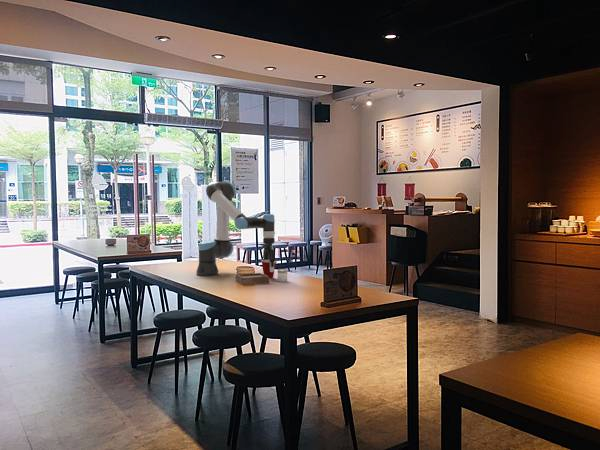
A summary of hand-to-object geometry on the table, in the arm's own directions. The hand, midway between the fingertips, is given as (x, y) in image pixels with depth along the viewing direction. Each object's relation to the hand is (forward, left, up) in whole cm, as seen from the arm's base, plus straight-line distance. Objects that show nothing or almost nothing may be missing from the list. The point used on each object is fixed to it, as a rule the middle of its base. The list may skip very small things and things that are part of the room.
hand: (269, 270), depth 338 cm
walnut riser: (+11, -15, -5) cm, 19 cm away
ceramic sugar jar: (+15, +4, -5) cm, 16 cm away
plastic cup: (0, 0, -5) cm, 5 cm away
